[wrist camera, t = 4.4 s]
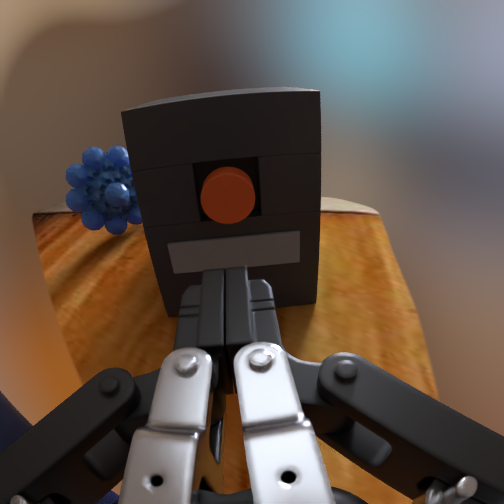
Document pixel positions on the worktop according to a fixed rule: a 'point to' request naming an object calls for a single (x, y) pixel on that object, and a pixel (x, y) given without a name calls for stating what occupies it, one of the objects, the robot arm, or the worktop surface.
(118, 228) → the grapes
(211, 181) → the power button
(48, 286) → the worktop surface
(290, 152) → the push button control box
